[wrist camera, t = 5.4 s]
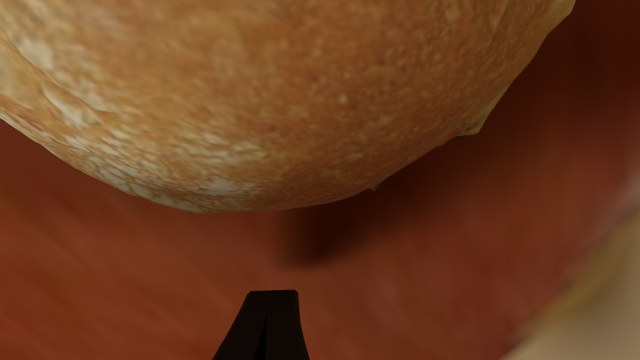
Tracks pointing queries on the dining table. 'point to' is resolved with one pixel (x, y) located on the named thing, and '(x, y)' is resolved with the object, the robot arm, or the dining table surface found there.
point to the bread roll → (258, 89)
